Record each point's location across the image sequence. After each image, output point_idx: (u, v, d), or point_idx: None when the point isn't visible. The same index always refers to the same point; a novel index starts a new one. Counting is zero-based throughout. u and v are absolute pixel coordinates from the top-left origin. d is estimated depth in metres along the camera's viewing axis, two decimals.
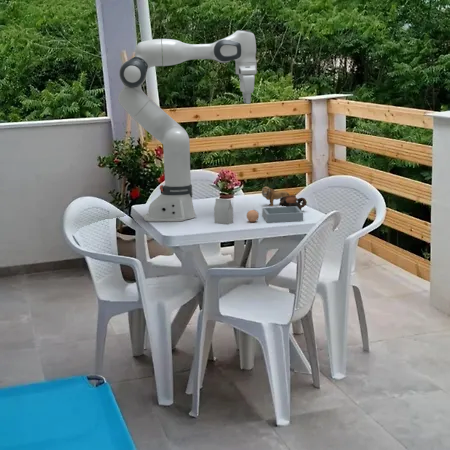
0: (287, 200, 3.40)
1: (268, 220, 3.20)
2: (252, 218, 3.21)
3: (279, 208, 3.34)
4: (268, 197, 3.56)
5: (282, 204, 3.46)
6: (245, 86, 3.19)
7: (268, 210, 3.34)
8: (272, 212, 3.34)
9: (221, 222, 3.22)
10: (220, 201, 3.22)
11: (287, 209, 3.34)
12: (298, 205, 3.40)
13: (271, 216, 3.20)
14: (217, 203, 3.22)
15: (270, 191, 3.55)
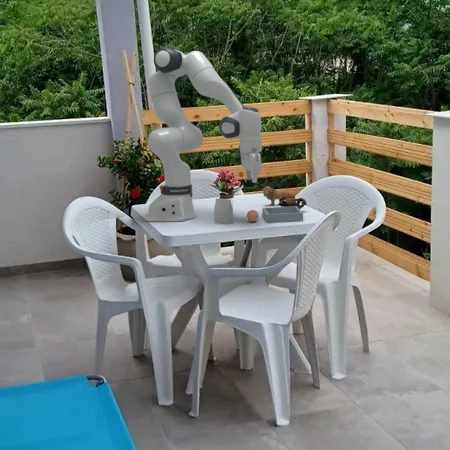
0: (286, 200, 3.39)
1: (268, 220, 3.20)
2: (252, 218, 3.21)
3: (279, 208, 3.34)
4: (269, 197, 3.56)
5: (281, 204, 3.45)
6: None
7: (268, 210, 3.34)
8: (272, 212, 3.34)
9: (221, 222, 3.22)
10: (220, 201, 3.22)
11: (287, 209, 3.34)
12: (297, 205, 3.39)
13: (271, 216, 3.20)
14: (217, 203, 3.22)
15: (271, 191, 3.55)
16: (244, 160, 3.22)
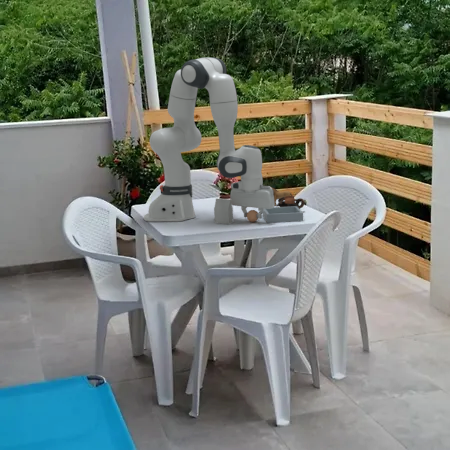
0: (285, 201, 3.38)
1: (268, 220, 3.20)
2: (252, 218, 3.21)
3: (279, 208, 3.34)
4: None
5: (280, 205, 3.44)
6: None
7: (268, 210, 3.34)
8: (272, 212, 3.34)
9: (221, 222, 3.22)
10: (220, 201, 3.22)
11: (287, 209, 3.34)
12: None
13: (271, 216, 3.20)
14: (217, 203, 3.22)
15: (273, 191, 3.55)
16: (240, 198, 3.23)
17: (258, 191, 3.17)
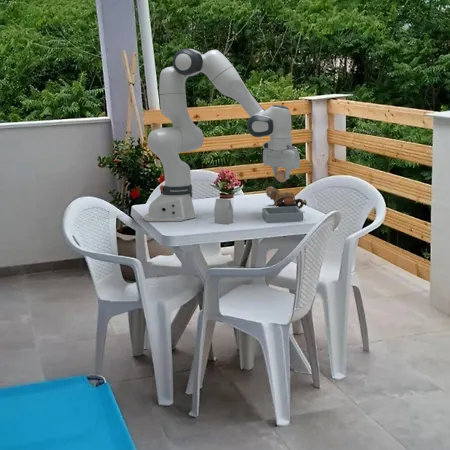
0: (285, 201, 3.37)
1: (268, 220, 3.20)
2: (280, 178, 3.22)
3: (279, 208, 3.34)
4: (272, 197, 3.56)
5: (279, 205, 3.43)
6: None
7: (268, 210, 3.34)
8: (272, 212, 3.34)
9: (221, 222, 3.22)
10: (220, 201, 3.22)
11: (287, 209, 3.34)
12: None
13: (271, 216, 3.20)
14: (217, 203, 3.22)
15: (274, 191, 3.55)
16: (271, 158, 3.26)
17: (284, 151, 3.18)
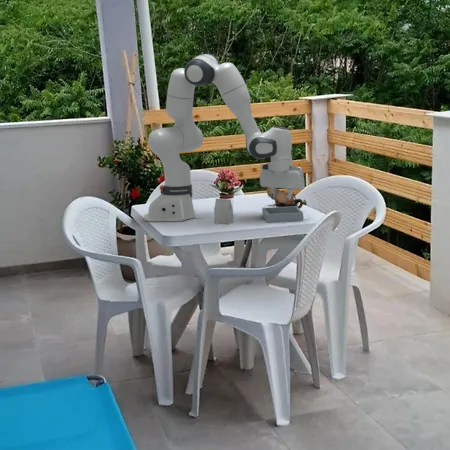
0: None
1: (268, 220, 3.20)
2: (282, 199, 3.24)
3: (279, 208, 3.34)
4: None
5: (278, 205, 3.43)
6: None
7: (268, 210, 3.34)
8: (272, 212, 3.34)
9: (221, 222, 3.22)
10: (220, 201, 3.22)
11: (287, 209, 3.34)
12: None
13: (271, 216, 3.20)
14: (217, 203, 3.22)
15: None
16: (270, 179, 3.26)
17: (288, 172, 3.20)
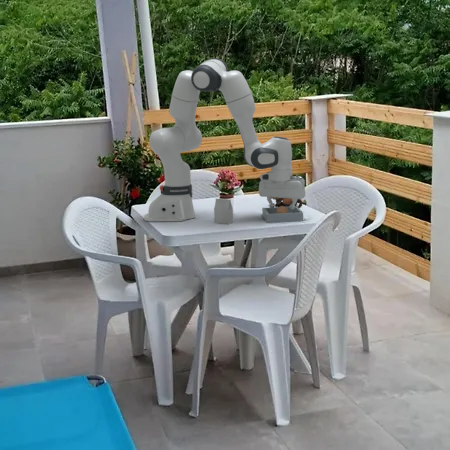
0: (284, 201, 3.37)
1: (268, 220, 3.20)
2: None
3: None
4: (274, 197, 3.56)
5: (278, 205, 3.43)
6: None
7: (268, 210, 3.34)
8: (272, 212, 3.34)
9: (221, 222, 3.22)
10: (220, 201, 3.22)
11: None
12: None
13: (271, 216, 3.20)
14: (217, 203, 3.22)
15: None
16: (270, 189, 3.26)
17: (289, 181, 3.21)
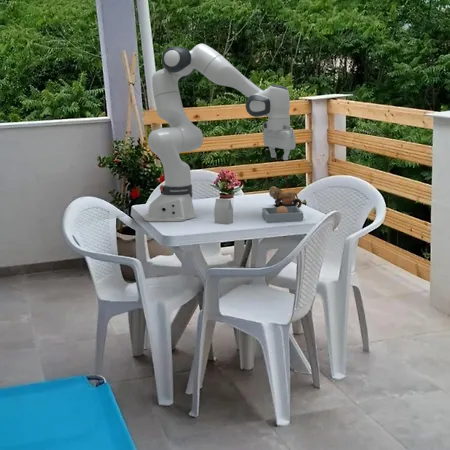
0: (283, 201, 3.37)
1: (268, 220, 3.20)
2: None
3: None
4: (276, 197, 3.55)
5: (277, 205, 3.43)
6: None
7: (268, 210, 3.34)
8: (272, 212, 3.34)
9: (221, 222, 3.22)
10: (220, 201, 3.22)
11: None
12: None
13: (271, 216, 3.20)
14: (217, 203, 3.22)
15: (278, 191, 3.55)
16: (270, 138, 3.25)
17: (281, 131, 3.16)
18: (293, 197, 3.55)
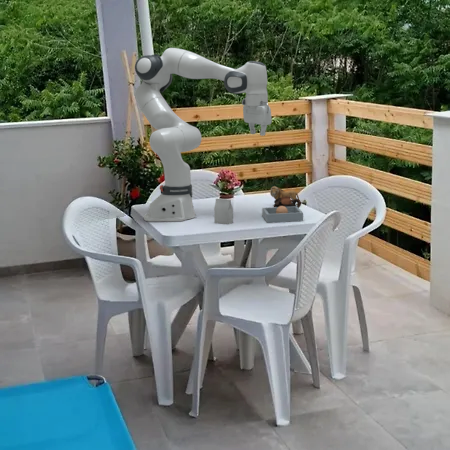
0: (282, 201, 3.37)
1: (268, 220, 3.20)
2: None
3: None
4: (277, 197, 3.55)
5: (276, 206, 3.43)
6: None
7: (268, 210, 3.34)
8: (272, 212, 3.34)
9: (221, 222, 3.22)
10: (220, 201, 3.22)
11: (287, 209, 3.34)
12: None
13: (271, 216, 3.20)
14: (217, 203, 3.22)
15: (279, 191, 3.55)
16: (248, 115, 3.27)
17: (257, 107, 3.18)
18: (294, 197, 3.55)
